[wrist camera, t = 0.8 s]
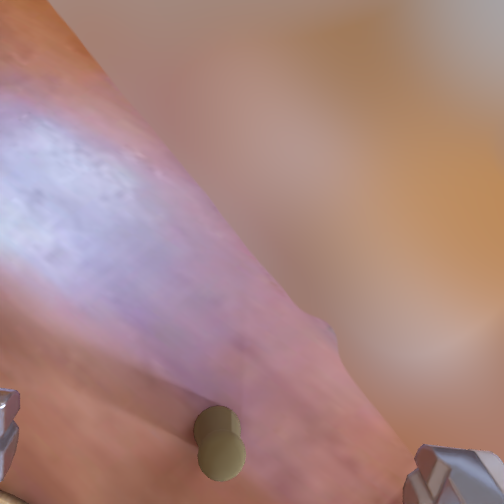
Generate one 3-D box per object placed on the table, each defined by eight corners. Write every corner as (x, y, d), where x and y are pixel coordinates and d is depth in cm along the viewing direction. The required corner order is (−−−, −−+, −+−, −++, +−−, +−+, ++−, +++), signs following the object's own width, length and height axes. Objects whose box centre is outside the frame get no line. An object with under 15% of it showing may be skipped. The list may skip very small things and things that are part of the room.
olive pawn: (211, 464, 59) (216, 503, 48) (184, 425, 59) (182, 455, 48) (250, 434, 60) (262, 465, 49) (222, 396, 60) (229, 418, 49)
